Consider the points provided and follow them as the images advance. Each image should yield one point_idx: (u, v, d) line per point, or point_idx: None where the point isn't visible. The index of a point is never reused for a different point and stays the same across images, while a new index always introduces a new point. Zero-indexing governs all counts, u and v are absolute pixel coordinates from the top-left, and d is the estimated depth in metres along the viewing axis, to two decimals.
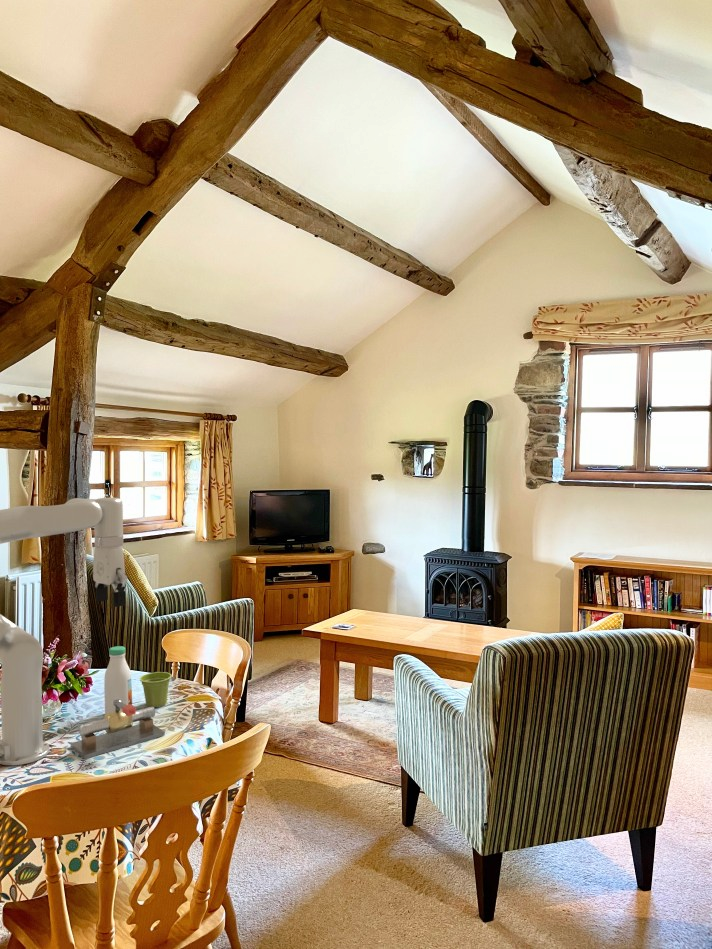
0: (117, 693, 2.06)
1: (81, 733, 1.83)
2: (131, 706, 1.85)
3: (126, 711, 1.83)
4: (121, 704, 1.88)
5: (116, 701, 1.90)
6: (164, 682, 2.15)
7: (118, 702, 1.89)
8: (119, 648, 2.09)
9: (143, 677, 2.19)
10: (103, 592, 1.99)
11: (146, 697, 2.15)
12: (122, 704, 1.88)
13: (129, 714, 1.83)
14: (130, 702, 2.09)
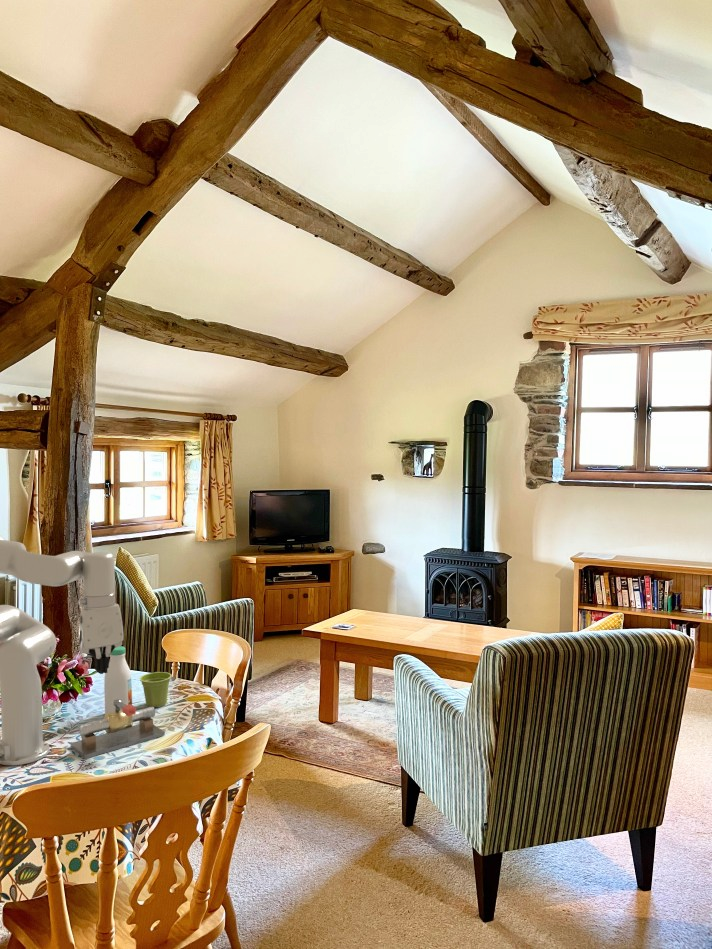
0: (117, 693, 2.06)
1: (81, 733, 1.83)
2: (131, 706, 1.85)
3: (126, 711, 1.83)
4: (121, 704, 1.88)
5: (116, 701, 1.90)
6: (164, 682, 2.15)
7: (118, 702, 1.89)
8: (119, 648, 2.09)
9: (143, 677, 2.19)
10: None
11: (146, 697, 2.15)
12: (122, 704, 1.88)
13: (129, 714, 1.83)
14: (130, 702, 2.09)
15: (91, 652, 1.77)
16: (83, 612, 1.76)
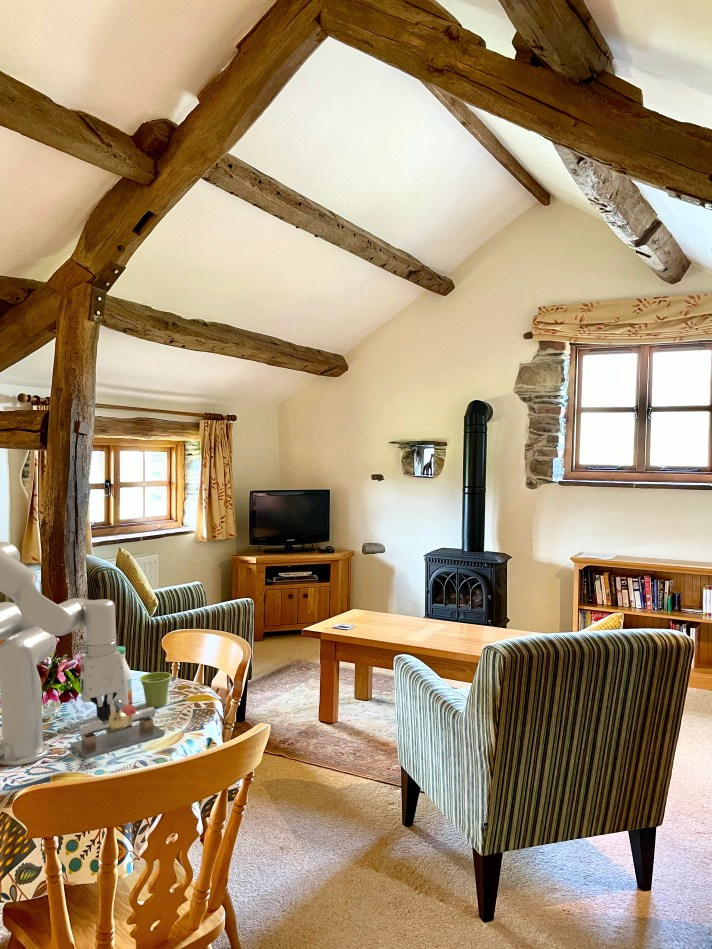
0: None
1: (81, 733, 1.83)
2: (131, 706, 1.85)
3: (126, 711, 1.83)
4: (121, 704, 1.88)
5: (116, 701, 1.90)
6: (164, 682, 2.15)
7: (118, 702, 1.89)
8: (119, 648, 2.09)
9: (143, 677, 2.19)
10: None
11: (146, 697, 2.15)
12: (122, 704, 1.88)
13: (129, 714, 1.83)
14: (130, 702, 2.09)
15: (93, 700, 1.77)
16: (84, 661, 1.76)
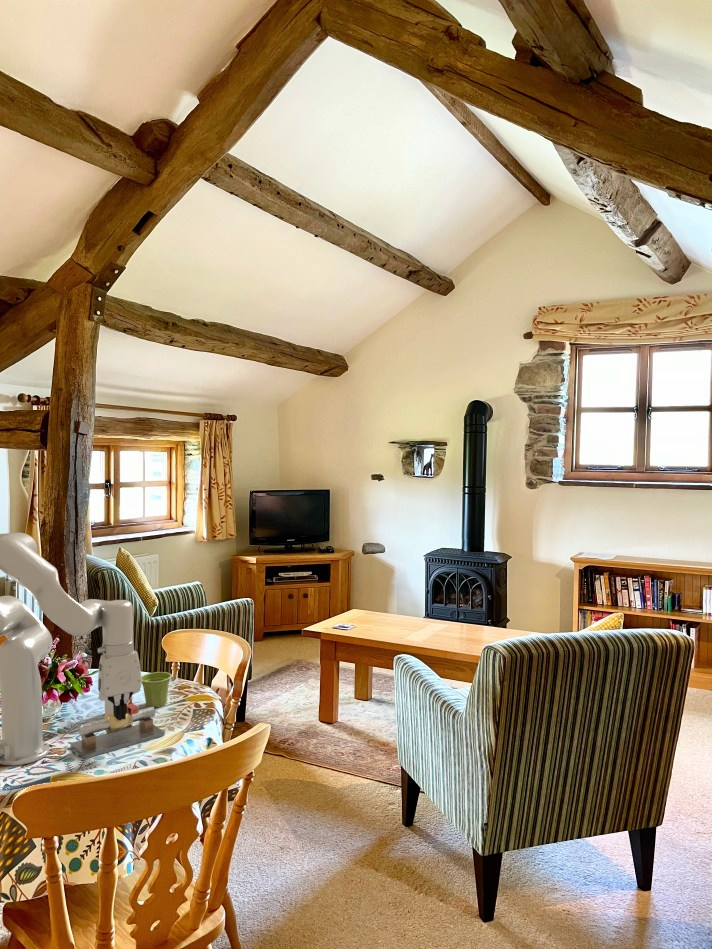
0: None
1: (81, 733, 1.83)
2: (134, 705, 1.85)
3: (129, 711, 1.84)
4: None
5: None
6: (164, 682, 2.15)
7: None
8: None
9: (143, 677, 2.19)
10: None
11: (146, 697, 2.15)
12: None
13: (132, 713, 1.84)
14: (130, 702, 2.09)
15: (110, 699, 1.80)
16: (102, 660, 1.79)
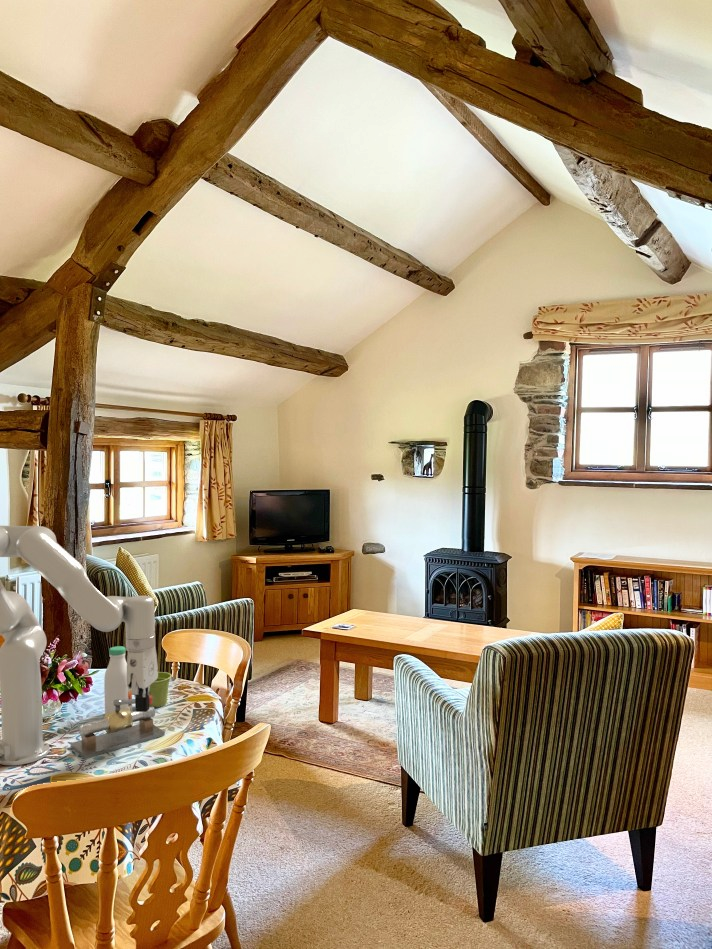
0: (117, 693, 2.06)
1: (81, 733, 1.83)
2: None
3: None
4: (129, 700, 1.91)
5: (118, 701, 1.90)
6: (164, 682, 2.15)
7: (122, 701, 1.90)
8: (119, 648, 2.09)
9: None
10: None
11: None
12: (130, 700, 1.91)
13: None
14: None
15: (140, 692, 1.86)
16: (136, 655, 1.83)
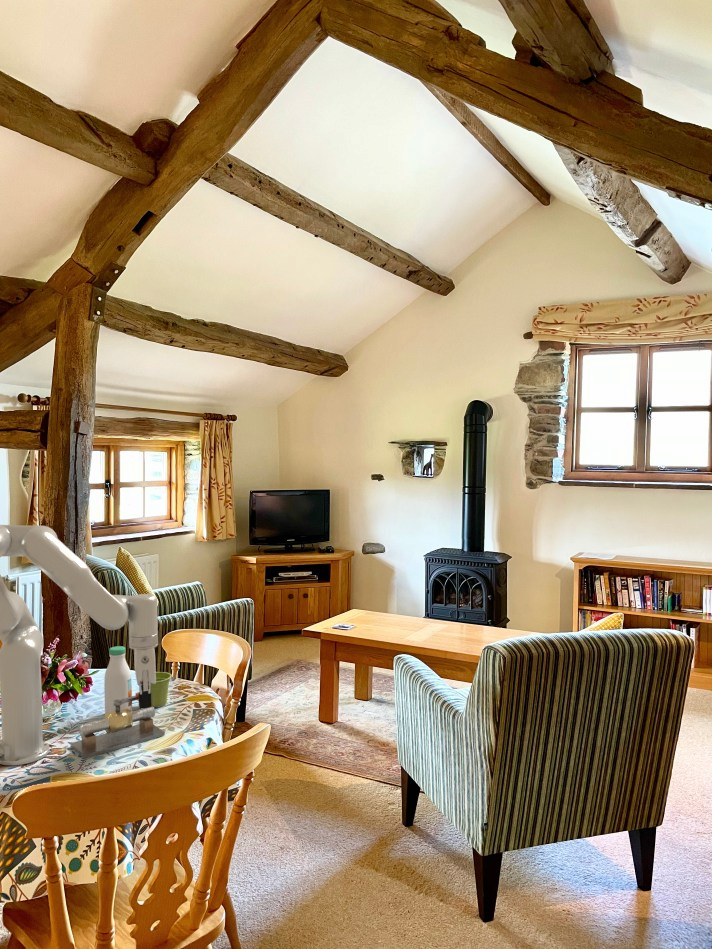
0: (117, 693, 2.06)
1: (81, 733, 1.83)
2: None
3: None
4: (128, 698, 1.92)
5: (119, 701, 1.90)
6: (164, 682, 2.15)
7: (122, 700, 1.91)
8: (119, 648, 2.09)
9: None
10: None
11: None
12: (128, 698, 1.92)
13: None
14: (130, 702, 2.09)
15: (148, 688, 1.89)
16: (148, 651, 1.87)
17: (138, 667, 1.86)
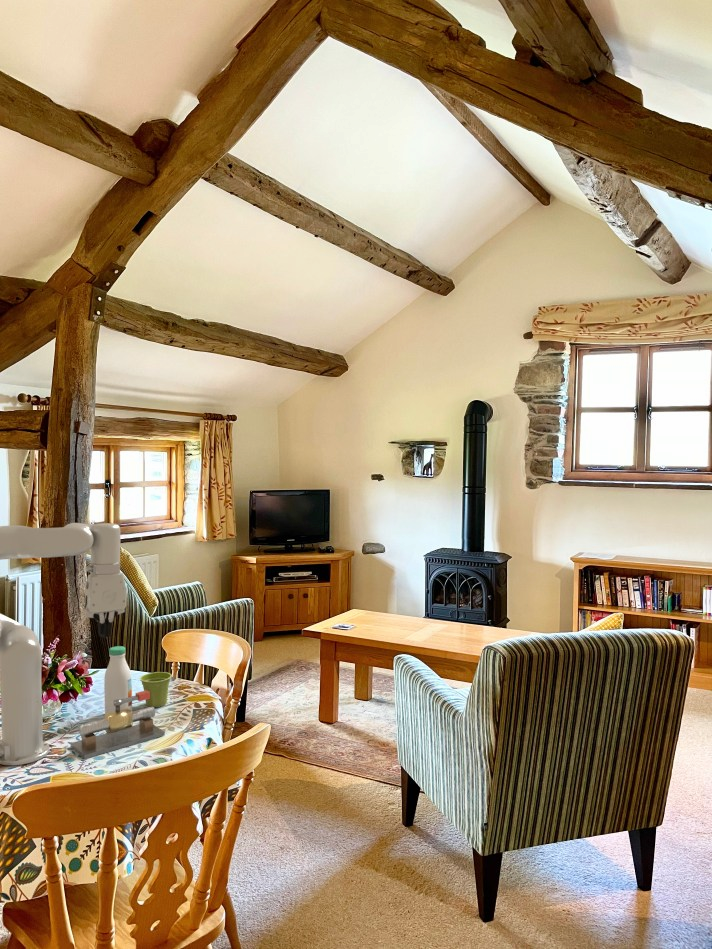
0: (117, 693, 2.06)
1: (81, 733, 1.83)
2: (142, 691, 1.96)
3: (147, 695, 1.95)
4: (128, 698, 1.92)
5: (119, 701, 1.90)
6: (164, 682, 2.15)
7: (122, 700, 1.91)
8: (119, 648, 2.09)
9: (143, 677, 2.19)
10: None
11: None
12: (128, 698, 1.92)
13: None
14: (130, 702, 2.09)
15: (95, 616, 1.88)
16: (89, 578, 1.87)
17: (85, 591, 1.89)
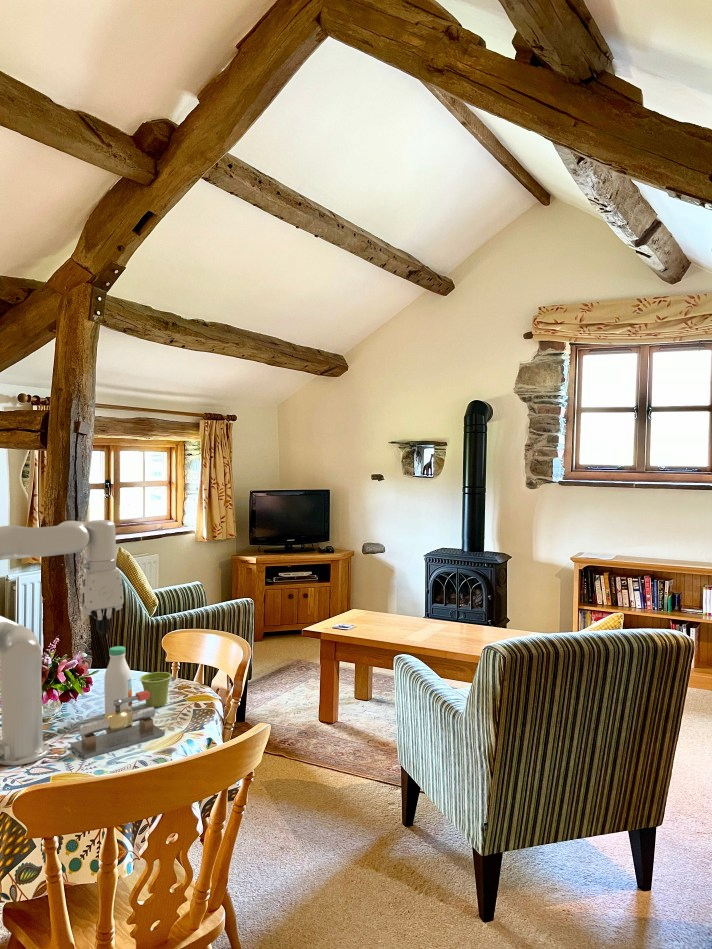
0: (117, 693, 2.06)
1: (81, 733, 1.83)
2: (142, 691, 1.96)
3: (147, 695, 1.95)
4: (128, 698, 1.92)
5: (119, 701, 1.90)
6: (164, 682, 2.15)
7: (122, 700, 1.91)
8: (119, 648, 2.09)
9: (143, 677, 2.19)
10: None
11: None
12: (128, 698, 1.92)
13: None
14: (130, 702, 2.09)
15: (93, 613, 1.88)
16: (86, 575, 1.87)
17: (82, 588, 1.89)
